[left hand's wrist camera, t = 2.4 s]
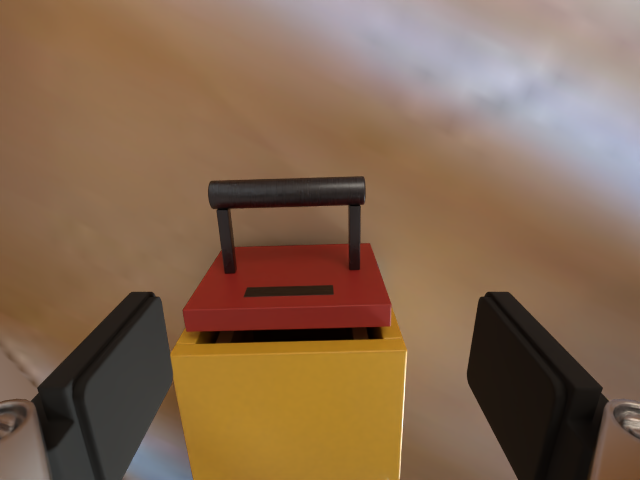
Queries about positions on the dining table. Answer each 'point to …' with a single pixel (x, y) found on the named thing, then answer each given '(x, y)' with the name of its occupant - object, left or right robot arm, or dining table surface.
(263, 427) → the cabinet
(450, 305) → the dining table surface
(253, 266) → the drawer
